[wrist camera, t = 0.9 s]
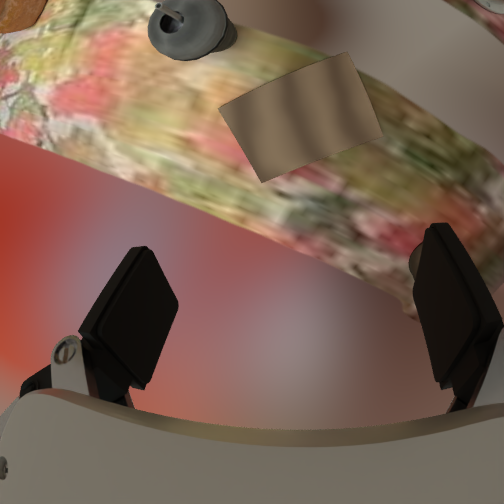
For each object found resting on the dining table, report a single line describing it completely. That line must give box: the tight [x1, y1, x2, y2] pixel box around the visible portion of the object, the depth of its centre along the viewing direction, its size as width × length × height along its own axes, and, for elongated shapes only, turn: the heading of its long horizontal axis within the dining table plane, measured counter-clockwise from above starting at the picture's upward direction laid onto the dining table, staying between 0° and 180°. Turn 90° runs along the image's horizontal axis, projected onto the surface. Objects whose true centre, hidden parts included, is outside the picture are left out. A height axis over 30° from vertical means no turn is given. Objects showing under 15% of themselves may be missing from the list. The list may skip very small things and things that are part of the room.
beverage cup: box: [148, 0, 237, 61], centre depth 20 cm, size 7×7×20 cm
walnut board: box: [218, 52, 383, 183], centre depth 33 cm, size 18×12×2 cm, turn 119°
